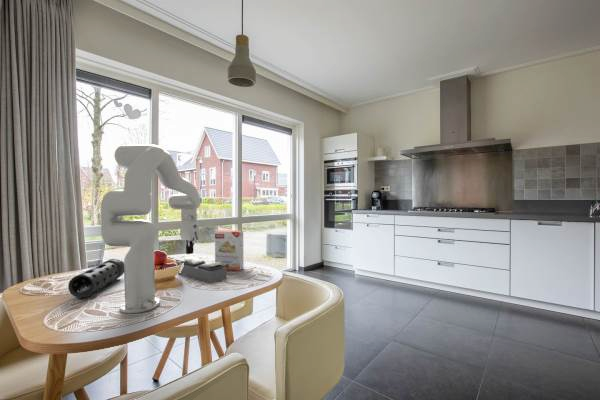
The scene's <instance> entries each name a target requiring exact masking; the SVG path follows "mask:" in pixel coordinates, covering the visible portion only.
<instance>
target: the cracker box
mask: <svg viewBox="0 0 600 400" xmlns="http://www.w3.org/2000/svg"><path fill="white" fill-rule="evenodd" d="M214 260H215V261H214V262H220V264H219V265H223V267H225V268H226V271H230V270H235V272H240V271H242V270H243V269H244V230H228V229H225V230H224V229H223V230H222V229H219V230H216V231H214ZM241 269H242V270H241Z"/></svg>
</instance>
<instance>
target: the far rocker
mask: <svg viewBox="0 0 600 400" xmlns="http://www.w3.org/2000/svg"><path fill="white" fill-rule="evenodd" d="M183 260H184V261H187V262H188V263H192V264H197V263H201V262H202V261H203V260H201V259H200V258H198V257H195V256H189V257H184V259H183Z"/></svg>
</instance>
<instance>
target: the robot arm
mask: <svg viewBox="0 0 600 400" xmlns="http://www.w3.org/2000/svg"><path fill="white" fill-rule="evenodd" d="M114 160H115V162H116V163H117V164H118V165H119V166H120V167H122V168H124V169H127V170H126V171H125V173H124V179H123V180H124V184H123V185H124V186H123V187H124V188H123V189H112V190H109V191H107V192H106V193H105V194H104V195H103V197H102V199H101V201H100V232H101V238H102V242H103V243H104V244H105V245H106V246H109V247H129V250H128V252H127V253H126V255H125V257H124V260H123V262H124V273H123V275H124V277H123V278H124V280H123V281H124V303H122V304H121V305H120V306H119V311H120V312H121V313H124V314H139V313H143V312H147V311H150V310H153V309H156V308H157V307H158V306H160V303H161V301H160V298H158V297H156V289H155V288H156V285H155V284H156V282H155V281H156V280H155V279H156V278H155V247H156V245H155V244H156V241H157V235H158V230H157V226H156V224H155V223H154V222H153V221H150V220H146V219H124V217H143V216H146V215H148V214H150V212H151V211H152V202H153V201H152V195H153V194H152V180H153V175H154V173H156V175H157V178H158V179H159V181H160V183H161V185H162V186H164V187H165V188H166V189H169V190H172V191H176V192H179V193H177V194H176V193H175V194H172V195H171V196H170V197H169V198H168V205H169V207H170V208H171V209H173V210H180V216H181V217H180V220H181V221H180V239H181V240H182V242H184V244H185V255H190V254H191V255H192V254H194V246H195V244H196V243H197V241H199V240H200V228H199V227H200V226H199V222H198V216H197V215H198V212H197V211H198V209H199V208H200V206H201V196H200V194H199V191H198V189H197V187H196V186H195V185H194V184H193V183H192V182H190V181H189V180H187V179H186V178H184V177H183V176H181V174H180V171H179V170H178V168H177V165H176V162H175V160H174V158H173V156H172V154H171V153H170V152H169V151H167V150H165V149H164V148H163V147H161V146H160V145H157V144H123V145H120V146H118V147H117V148H116V149H115V151H114Z"/></svg>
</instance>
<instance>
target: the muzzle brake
mask: <svg viewBox="0 0 600 400" xmlns="http://www.w3.org/2000/svg"><path fill="white" fill-rule="evenodd" d="M123 275H124V260H121V259H118V258H111V259H108V260H106V261H104V262H103V263H101V264H98V265H97V266H95V267H92V268H91V269H89V270H85V271H83V272H81V273H80V274H77V275H75V276H74V277H72V278H71V279H70V280H69V283H68V286H67V287H68V291H69V293H70V294H71V295H72V296H73V297H75V298H78V299H80V300H85V299H87V298H89V297H90V296H92V295H93V294H95V293H97V292H98V291H99V290H101V289H102V288H103V287H105V286H109V285H111V284H112V282H113V281H115V280H118V279H119V278H120V277H122V276H123Z"/></svg>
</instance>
